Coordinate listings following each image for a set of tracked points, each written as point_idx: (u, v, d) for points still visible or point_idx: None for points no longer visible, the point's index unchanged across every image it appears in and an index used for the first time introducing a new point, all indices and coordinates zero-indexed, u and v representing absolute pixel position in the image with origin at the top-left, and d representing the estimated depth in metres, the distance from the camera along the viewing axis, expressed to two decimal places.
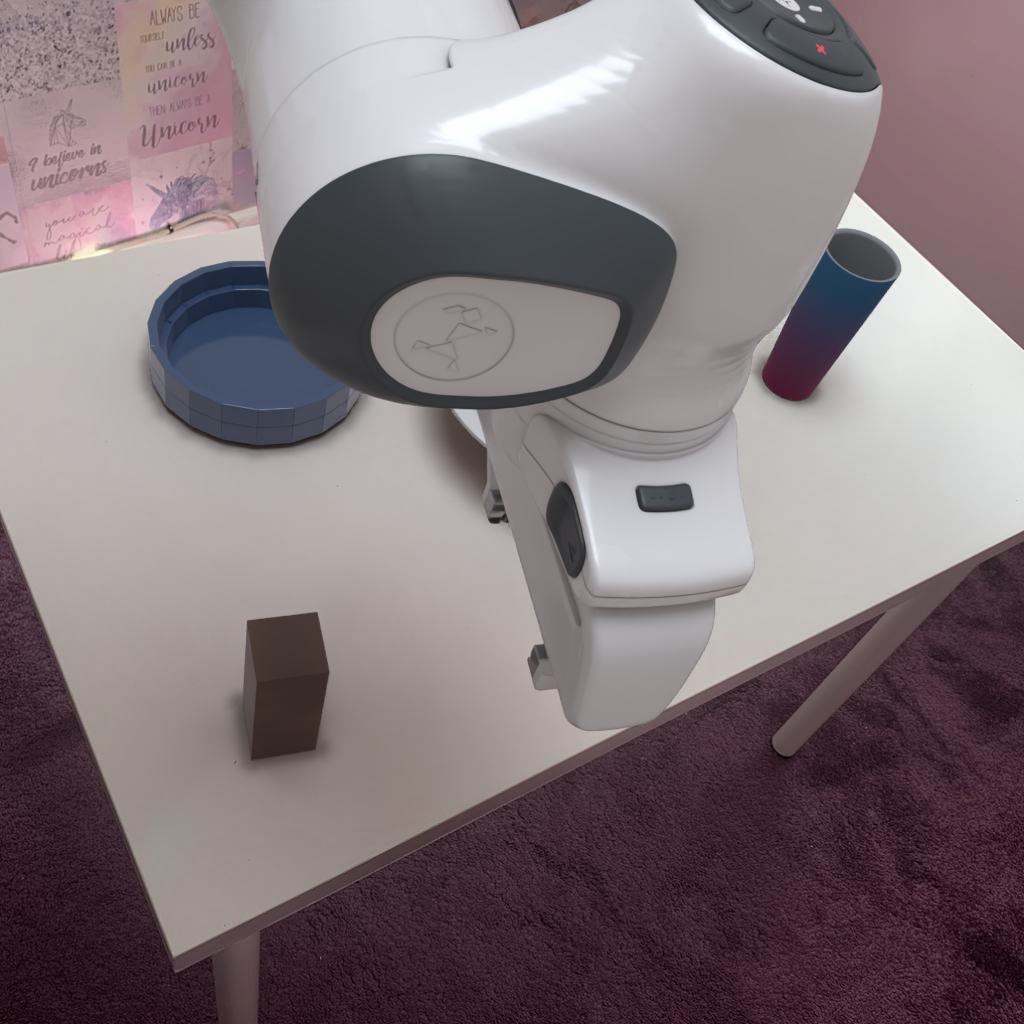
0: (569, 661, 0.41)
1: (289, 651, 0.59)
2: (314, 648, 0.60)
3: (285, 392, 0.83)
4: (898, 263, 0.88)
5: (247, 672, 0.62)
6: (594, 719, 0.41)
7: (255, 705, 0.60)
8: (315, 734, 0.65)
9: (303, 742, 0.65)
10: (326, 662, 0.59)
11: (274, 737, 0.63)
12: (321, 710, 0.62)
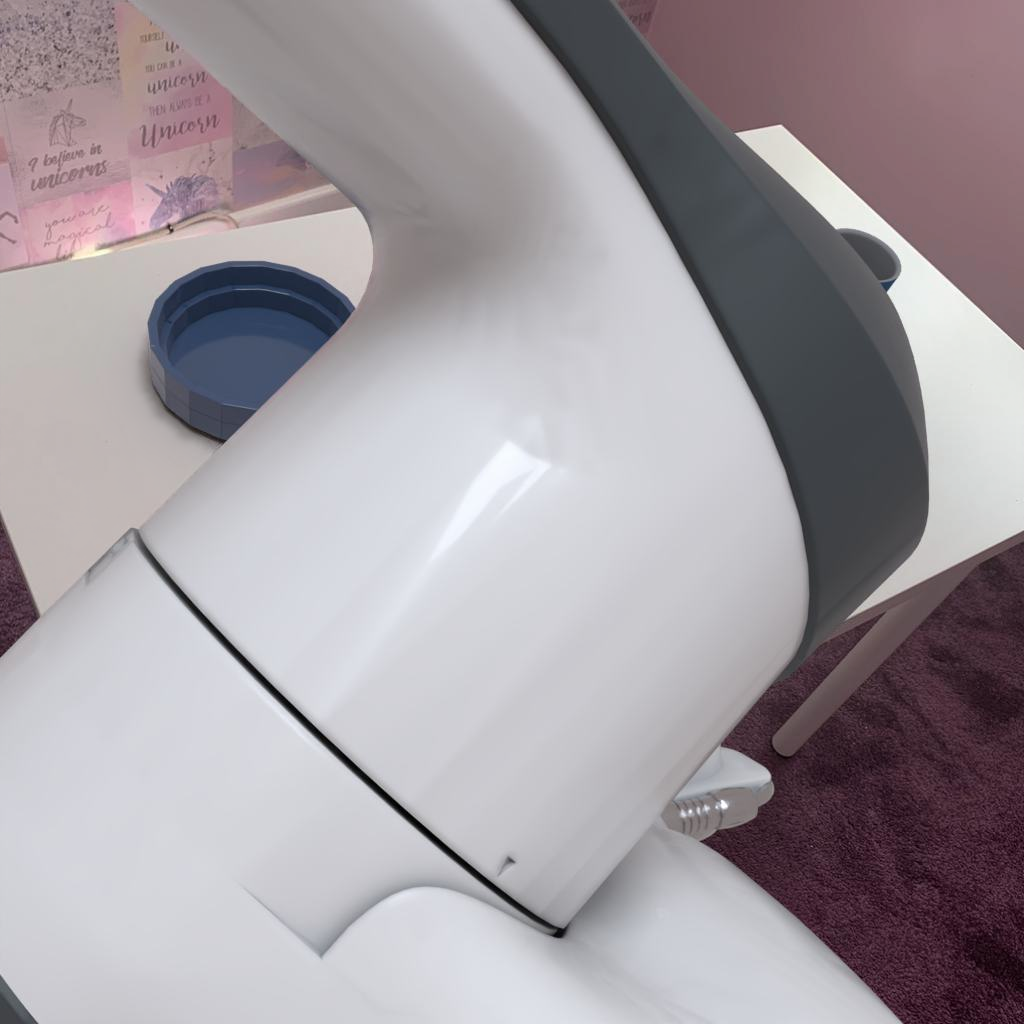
0: None
1: None
2: None
3: None
4: (898, 263, 0.88)
5: None
6: None
7: None
8: None
9: None
10: None
11: None
12: None
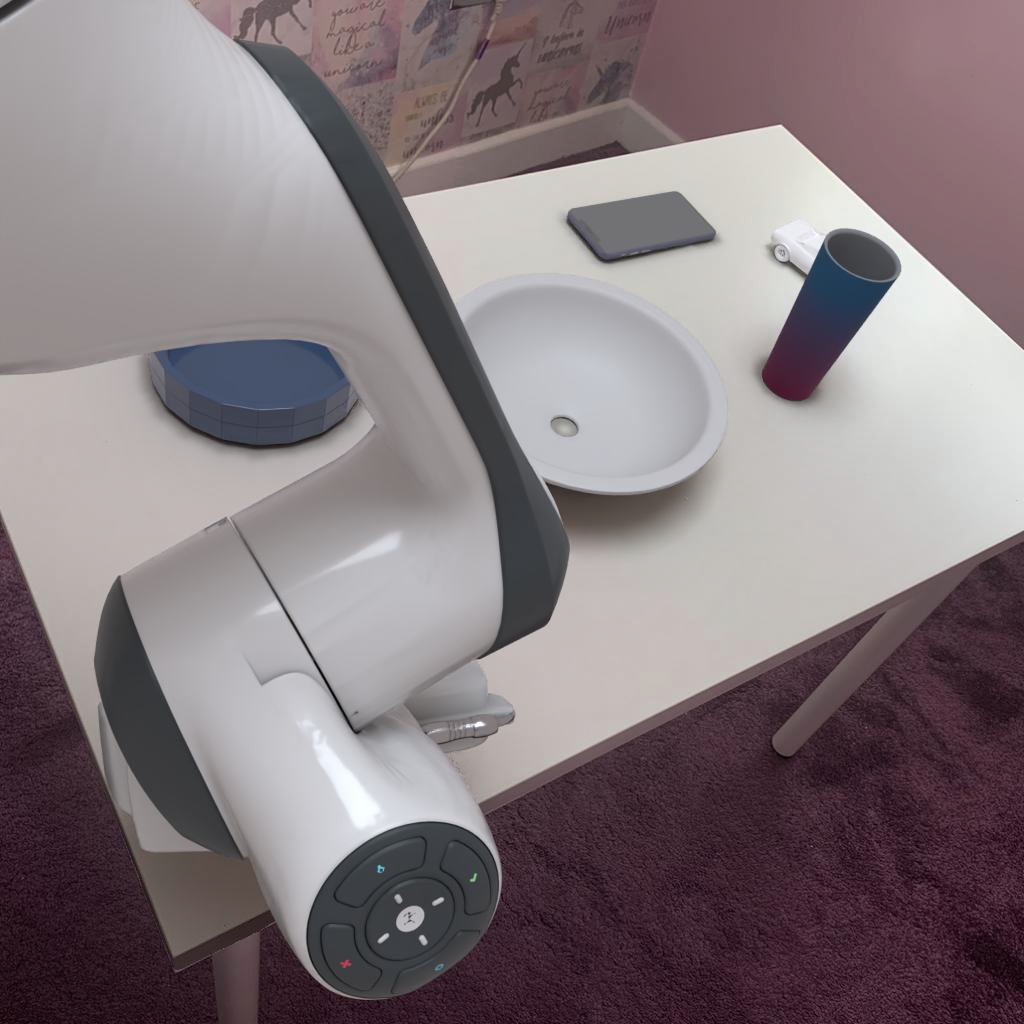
0: None
1: None
2: None
3: (285, 392, 0.83)
4: (898, 263, 0.88)
5: None
6: (98, 715, 0.53)
7: None
8: None
9: None
10: None
11: None
12: None
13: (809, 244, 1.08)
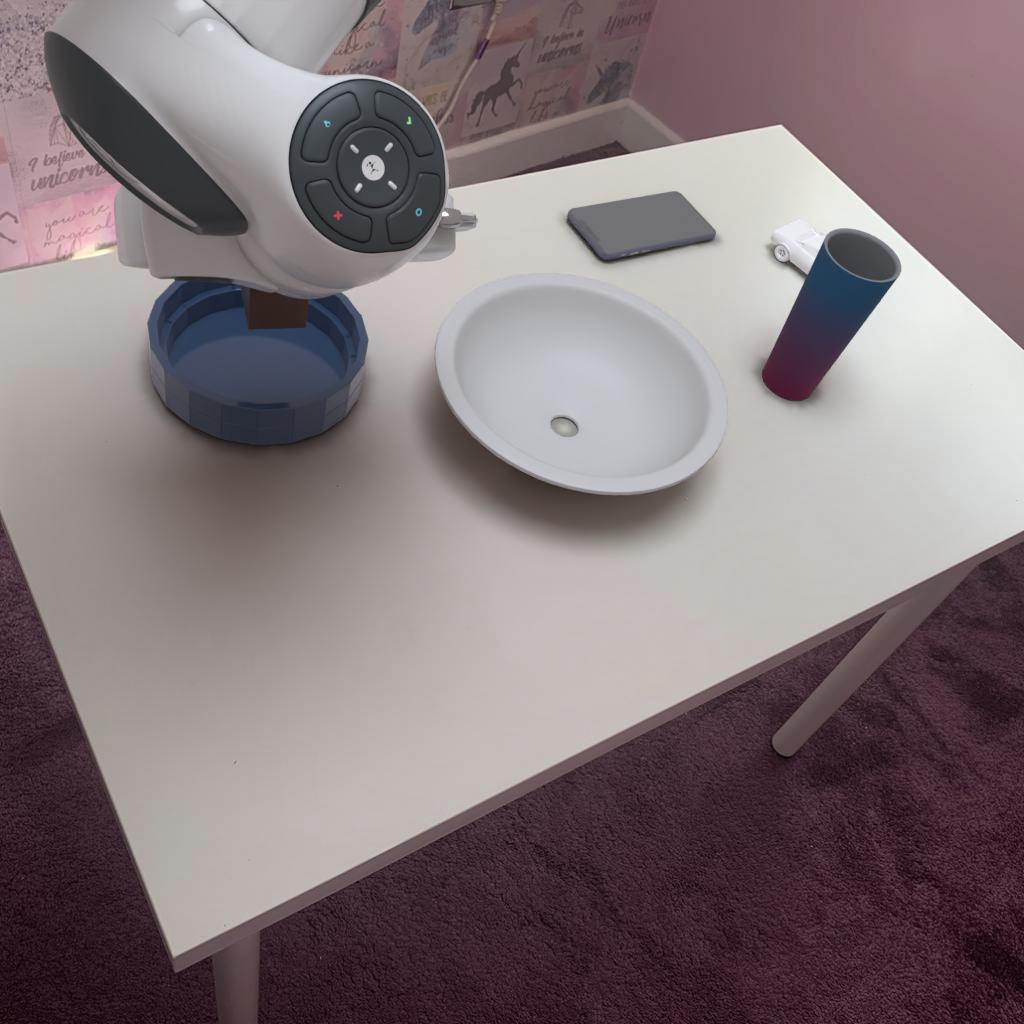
0: None
1: None
2: None
3: (285, 392, 0.83)
4: (898, 263, 0.88)
5: None
6: (114, 209, 0.62)
7: None
8: (305, 303, 0.73)
9: (295, 312, 0.73)
10: None
11: (268, 299, 0.72)
12: None
13: (809, 244, 1.08)
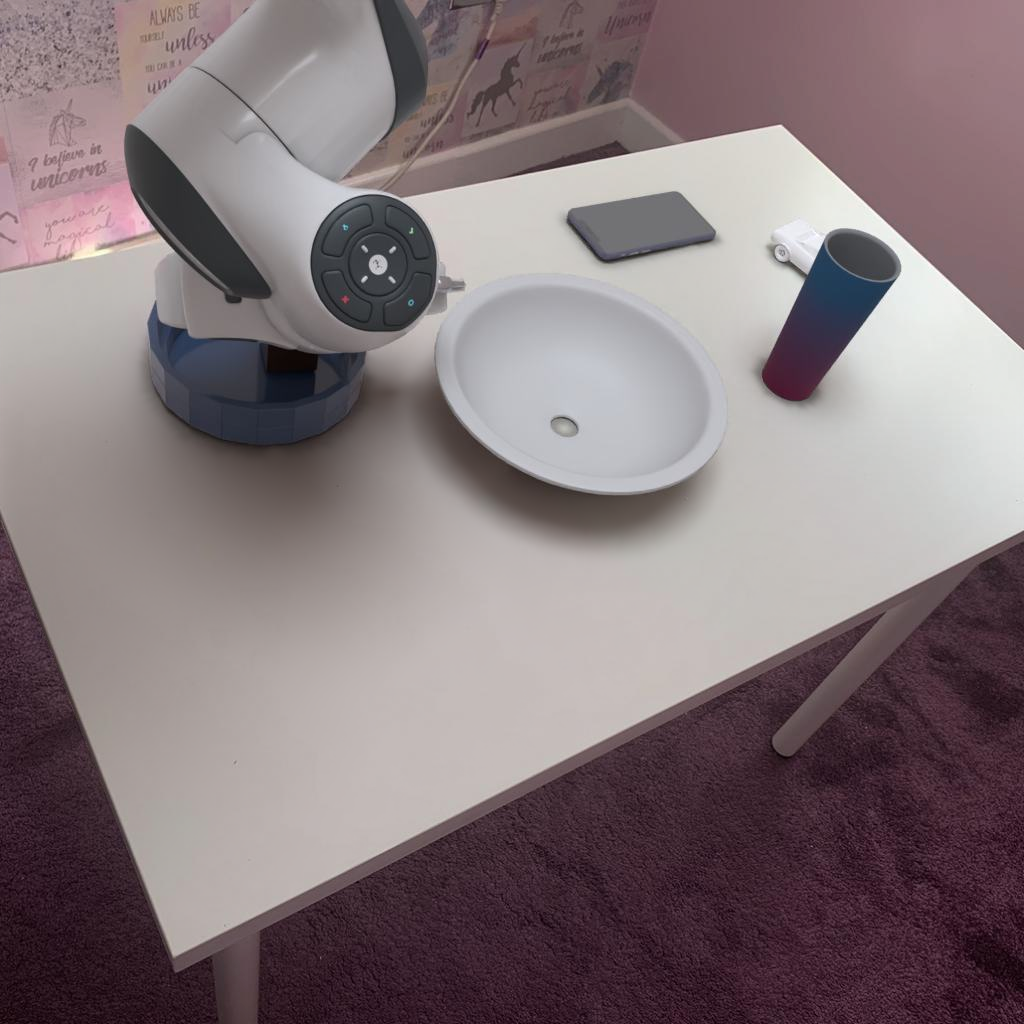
0: None
1: None
2: None
3: (285, 392, 0.83)
4: (898, 263, 0.88)
5: None
6: (155, 275, 0.72)
7: None
8: None
9: (307, 357, 0.84)
10: None
11: None
12: None
13: (809, 244, 1.08)
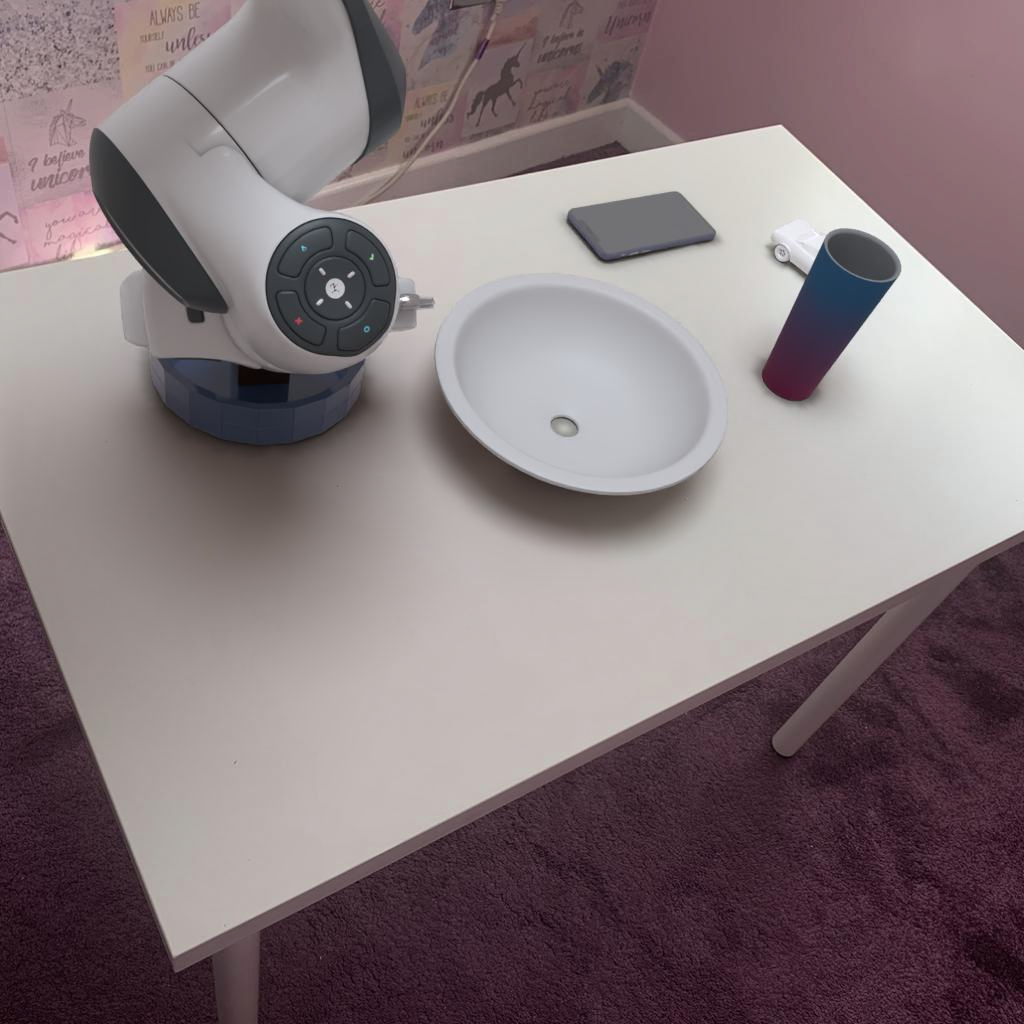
0: None
1: None
2: None
3: (285, 392, 0.83)
4: (898, 263, 0.88)
5: None
6: (120, 293, 0.71)
7: None
8: None
9: None
10: None
11: None
12: None
13: (809, 244, 1.08)
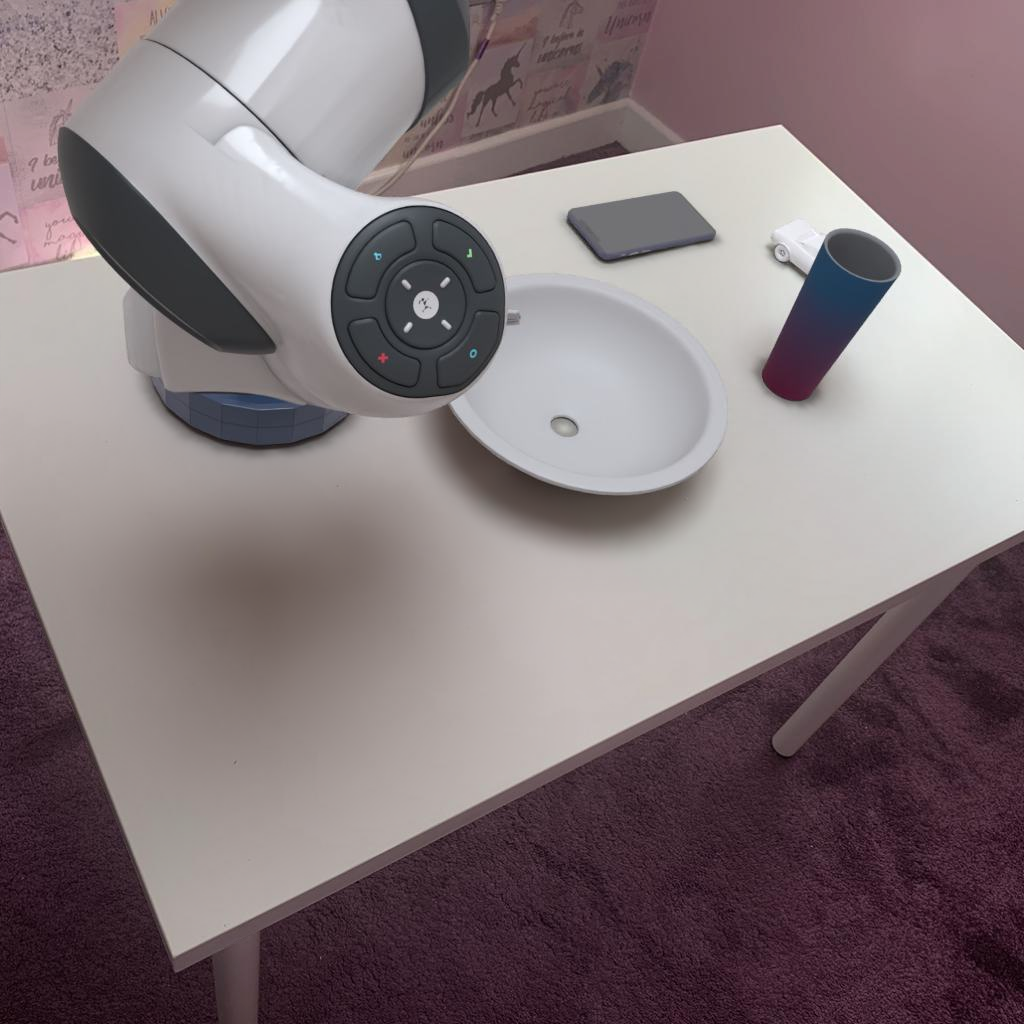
0: None
1: None
2: None
3: None
4: (898, 263, 0.88)
5: None
6: (123, 306, 0.56)
7: None
8: None
9: None
10: None
11: None
12: None
13: (809, 244, 1.08)
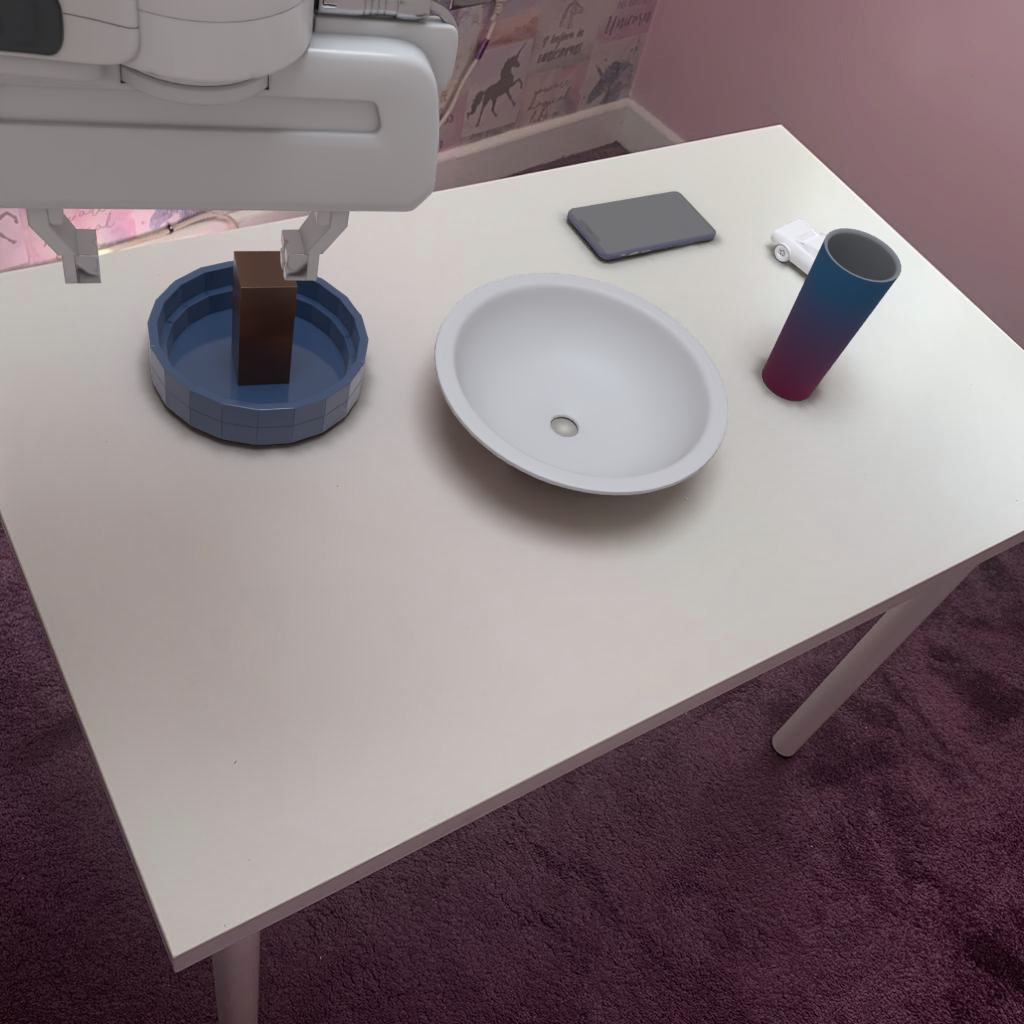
0: None
1: (266, 272, 0.77)
2: None
3: (285, 392, 0.83)
4: (898, 263, 0.88)
5: (234, 302, 0.80)
6: None
7: (240, 316, 0.77)
8: (288, 363, 0.82)
9: (279, 371, 0.83)
10: (295, 281, 0.77)
11: (255, 360, 0.81)
12: (292, 333, 0.80)
13: (809, 244, 1.08)
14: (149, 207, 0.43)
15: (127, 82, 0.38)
